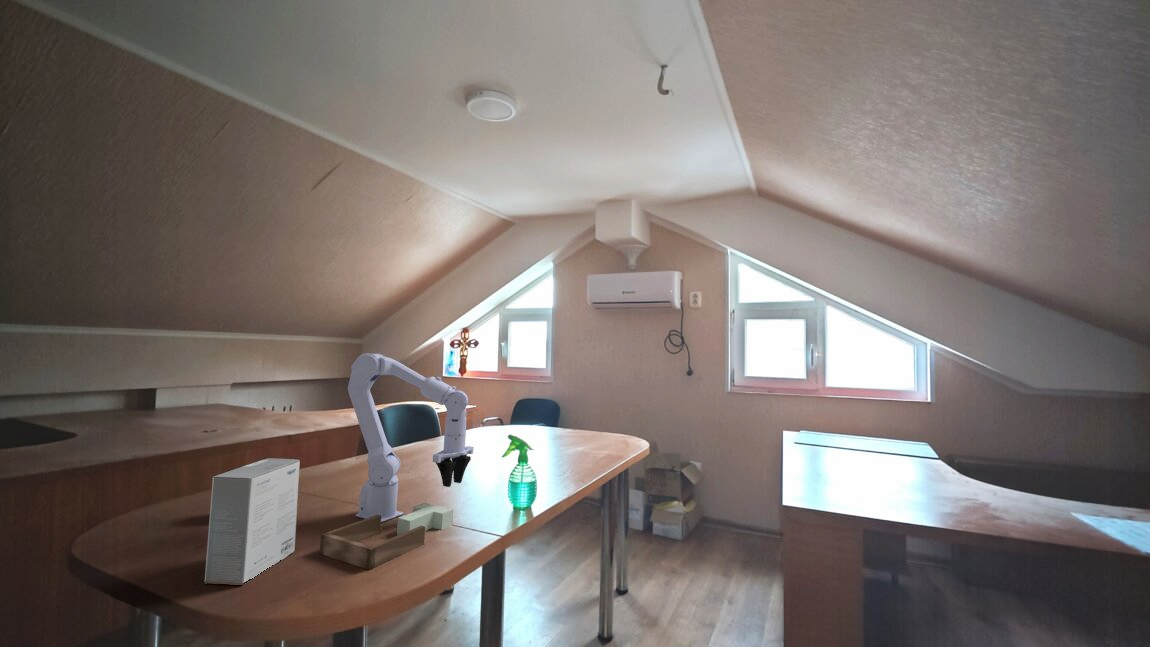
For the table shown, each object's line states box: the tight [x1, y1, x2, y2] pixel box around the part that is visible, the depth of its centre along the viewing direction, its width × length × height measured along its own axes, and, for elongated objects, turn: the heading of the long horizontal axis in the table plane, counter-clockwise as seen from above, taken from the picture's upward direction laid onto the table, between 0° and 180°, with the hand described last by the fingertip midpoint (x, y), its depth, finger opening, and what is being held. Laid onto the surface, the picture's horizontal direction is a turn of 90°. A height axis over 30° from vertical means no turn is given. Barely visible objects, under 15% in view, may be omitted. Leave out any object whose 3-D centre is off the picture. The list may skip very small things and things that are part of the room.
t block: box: [396, 502, 454, 536], centre depth 117 cm, size 10×12×4 cm
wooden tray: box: [319, 515, 426, 571], centre depth 104 cm, size 15×15×4 cm
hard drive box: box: [204, 457, 301, 583], centre depth 93 cm, size 16×8×20 cm, turn 178°
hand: (452, 484), depth 127 cm, fingers open, 4 cm apart
